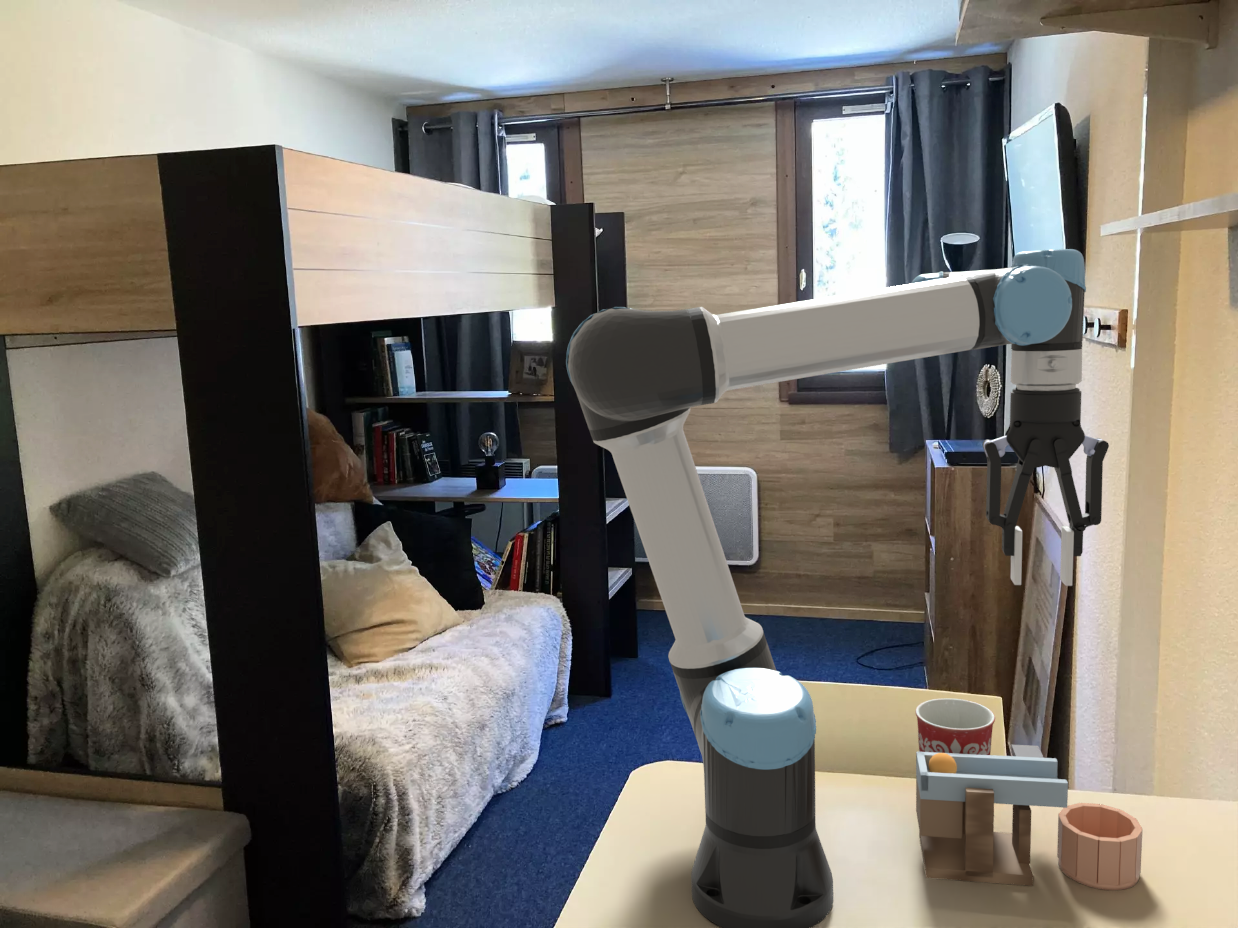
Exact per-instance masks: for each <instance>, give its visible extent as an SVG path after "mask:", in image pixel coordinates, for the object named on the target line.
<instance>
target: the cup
mask: <svg viewBox="0 0 1238 928" xmlns="http://www.w3.org/2000/svg"><path fill="white" fill-rule="evenodd" d="M1142 849H1143V827H1142V826H1141V823H1140V822H1139V821H1138V819H1137V818H1136V817H1134V816H1133V815H1131V814H1129V813H1128V812H1127V811H1124V810H1122V809H1120V808H1116V807H1113V806H1109V805H1105V804H1103V803H1102V804H1100V803H1093V802H1091V803H1090V802H1077V803H1074V804H1069V805H1067V808H1063V807H1062V809H1061V810H1060V811H1059V813H1058V818H1057V851H1056V852H1057V853H1056V854H1057V855H1056V857H1057V861H1058V866H1059V868H1060V870H1061V871H1062V873H1064V874H1065V876H1067V877H1068V878H1070V879H1071V880H1073V881H1075V882H1077V883H1080V884H1082V885H1084V886H1086V887H1090V888H1093V889H1098V890H1104V891H1122V890H1127V889H1130V888H1133V887H1134V886H1136V885H1137V884H1138V882H1139V879H1140V874H1141V873H1142V871H1141V870H1142Z"/></svg>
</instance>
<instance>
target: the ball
mask: <svg viewBox="0 0 1238 928" xmlns="http://www.w3.org/2000/svg"><path fill="white" fill-rule="evenodd" d="M929 770H930V772H934V773H953V774H956V771H957V765H956V762H955V760H954V759H953V758H952V757H951V756H950V755H948V754H946V753H937V754H935V755H933V756H932V757H931V759H930V761H929Z"/></svg>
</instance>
